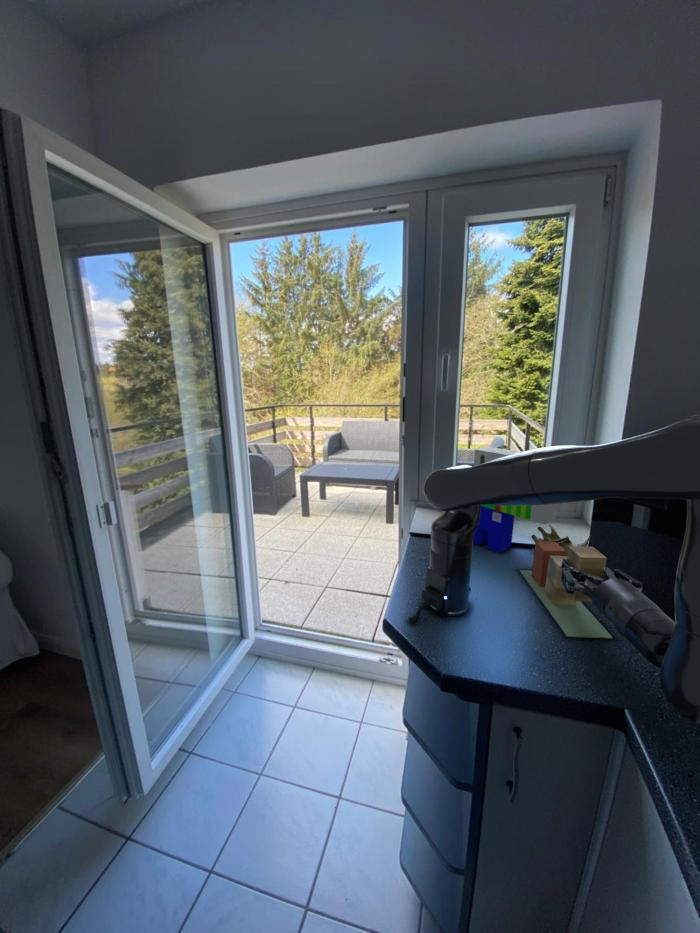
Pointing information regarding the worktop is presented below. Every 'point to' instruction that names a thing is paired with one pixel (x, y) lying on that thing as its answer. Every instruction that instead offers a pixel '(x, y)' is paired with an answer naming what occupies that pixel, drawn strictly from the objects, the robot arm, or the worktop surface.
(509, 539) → the toy
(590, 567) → the maple block
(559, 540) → the jawbone
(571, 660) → the worktop surface
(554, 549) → the terracotta block
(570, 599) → the maple block
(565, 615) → the mat
